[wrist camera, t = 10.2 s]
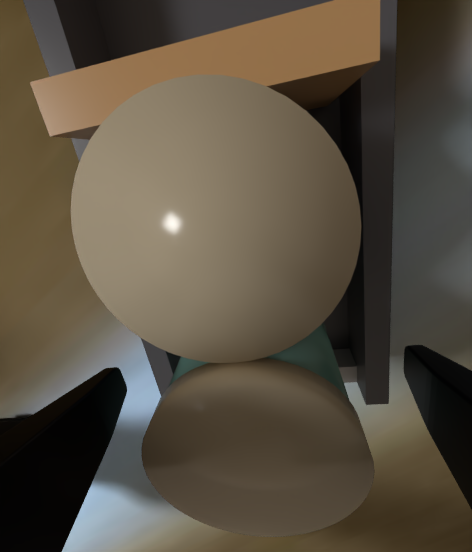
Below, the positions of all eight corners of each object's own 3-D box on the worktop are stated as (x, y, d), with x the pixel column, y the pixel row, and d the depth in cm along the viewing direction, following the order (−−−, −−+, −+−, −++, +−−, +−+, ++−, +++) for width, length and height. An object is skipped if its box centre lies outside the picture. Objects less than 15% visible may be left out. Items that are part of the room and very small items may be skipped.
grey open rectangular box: (364, 352, 17) (406, 442, 12) (186, 365, 19) (153, 448, 13) (353, -275, 9) (485, -961, 3) (37, -143, 10) (-202, -450, 5)
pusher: (327, 105, 12) (380, 60, 6) (143, 144, 13) (49, 136, 7) (326, 70, 11) (380, -13, 6) (135, 114, 12) (29, 82, 7)
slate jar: (314, 251, 14) (362, 354, 7) (193, 266, 15) (122, 370, 8) (304, 109, 12) (359, 34, 5) (163, 137, 13) (23, 114, 6)
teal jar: (324, 357, 16) (373, 538, 8) (214, 366, 17) (174, 534, 10) (316, 251, 13) (375, 377, 6) (188, 269, 14) (108, 395, 7)
